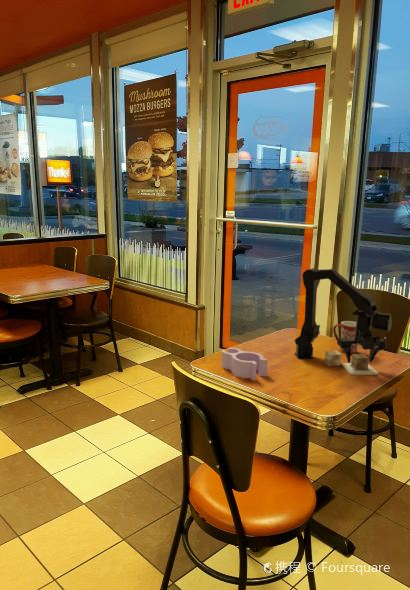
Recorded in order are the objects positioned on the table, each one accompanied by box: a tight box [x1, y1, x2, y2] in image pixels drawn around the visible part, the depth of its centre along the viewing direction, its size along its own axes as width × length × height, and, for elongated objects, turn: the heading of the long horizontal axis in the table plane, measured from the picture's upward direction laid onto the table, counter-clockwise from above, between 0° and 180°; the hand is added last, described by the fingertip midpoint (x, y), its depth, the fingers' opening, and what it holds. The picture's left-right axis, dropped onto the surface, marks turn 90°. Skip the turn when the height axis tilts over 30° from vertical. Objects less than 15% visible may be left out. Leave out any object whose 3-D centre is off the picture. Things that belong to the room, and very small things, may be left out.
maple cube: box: [324, 350, 342, 367], centre depth 193 cm, size 5×5×5 cm
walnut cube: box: [350, 353, 370, 370], centre depth 186 cm, size 5×5×5 cm
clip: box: [220, 347, 268, 381], centre depth 182 cm, size 20×12×7 cm, turn 42°
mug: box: [332, 320, 358, 355], centre depth 209 cm, size 13×9×14 cm
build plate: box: [340, 362, 379, 376], centre depth 187 cm, size 11×11×1 cm
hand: (359, 362), depth 186 cm, fingers open, 9 cm apart
